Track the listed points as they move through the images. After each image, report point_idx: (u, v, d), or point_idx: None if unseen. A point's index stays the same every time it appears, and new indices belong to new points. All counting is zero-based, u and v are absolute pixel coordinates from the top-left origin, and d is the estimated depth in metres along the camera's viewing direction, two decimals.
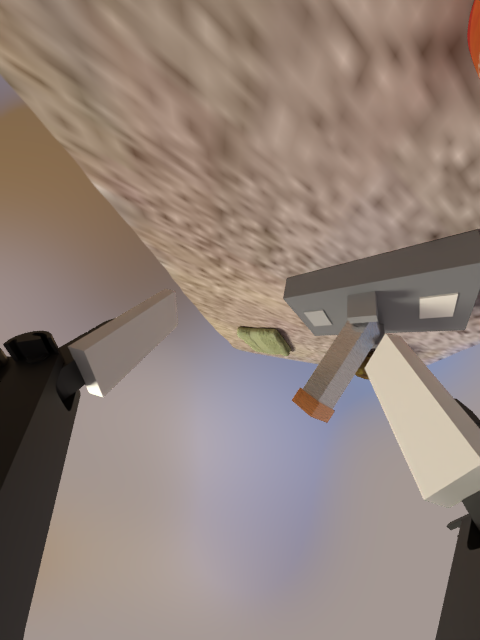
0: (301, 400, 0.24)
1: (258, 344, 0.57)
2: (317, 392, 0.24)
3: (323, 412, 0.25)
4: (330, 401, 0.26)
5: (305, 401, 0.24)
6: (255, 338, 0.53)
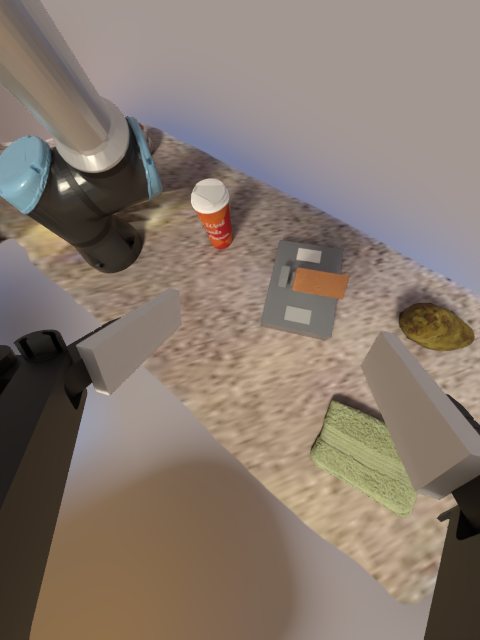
0: (293, 282, 0.26)
1: (360, 459, 0.33)
2: None
3: None
4: None
5: (294, 278, 0.26)
6: (334, 438, 0.34)
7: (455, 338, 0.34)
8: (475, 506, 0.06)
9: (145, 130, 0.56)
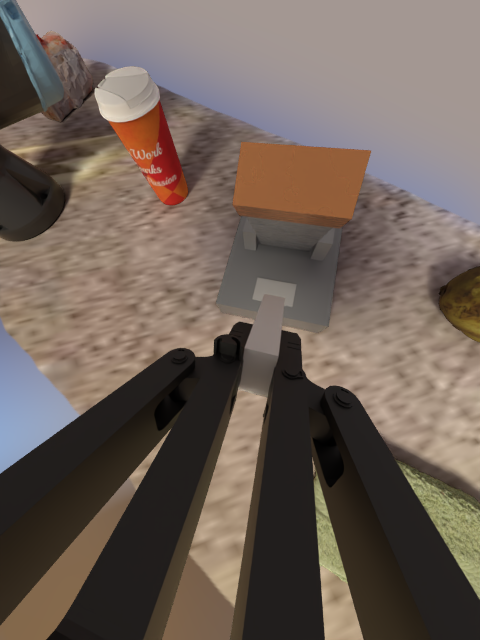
0: None
1: None
2: None
3: None
4: None
5: None
6: None
7: None
8: (269, 396, 0.08)
9: (75, 51, 0.41)
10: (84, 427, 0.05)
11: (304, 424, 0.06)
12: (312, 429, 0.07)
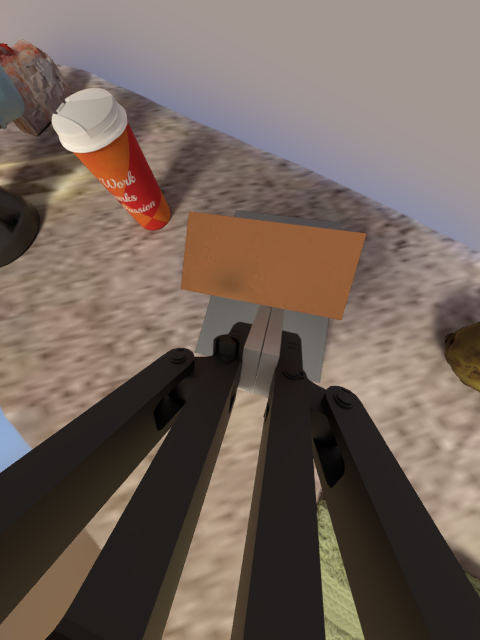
0: None
1: None
2: None
3: None
4: None
5: None
6: (324, 594, 0.17)
7: None
8: (270, 397, 0.08)
9: (49, 60, 0.38)
10: (83, 427, 0.05)
11: (305, 424, 0.06)
12: (313, 429, 0.07)
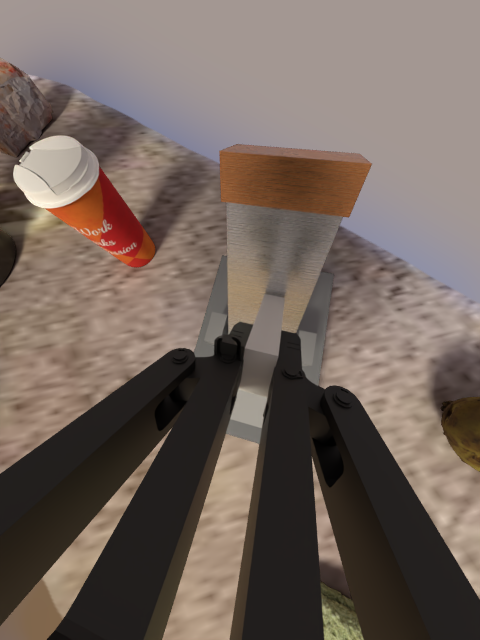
0: None
1: None
2: None
3: None
4: None
5: None
6: None
7: None
8: (269, 396, 0.08)
9: (27, 79, 0.36)
10: (84, 427, 0.05)
11: (304, 424, 0.06)
12: (312, 429, 0.07)
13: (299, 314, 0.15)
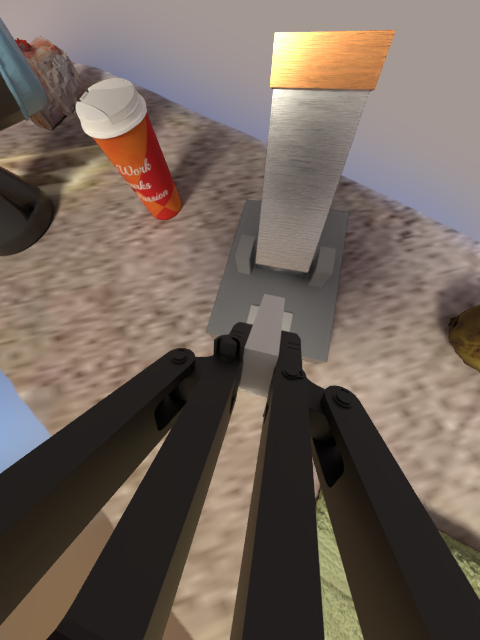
0: None
1: None
2: None
3: None
4: None
5: None
6: (329, 562, 0.17)
7: None
8: (269, 396, 0.08)
9: (65, 57, 0.40)
10: (84, 427, 0.05)
11: (304, 424, 0.06)
12: (312, 429, 0.07)
13: (324, 214, 0.17)
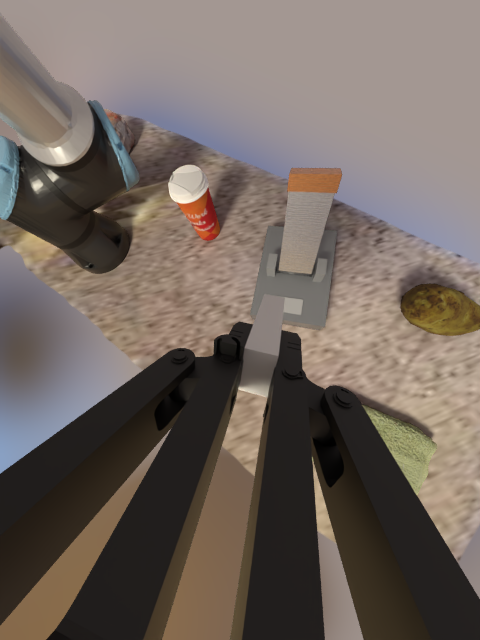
0: None
1: None
2: None
3: None
4: None
5: None
6: None
7: (464, 321, 0.30)
8: (269, 396, 0.08)
9: (123, 121, 0.53)
10: (84, 427, 0.05)
11: (304, 424, 0.06)
12: (312, 429, 0.07)
13: (318, 243, 0.31)
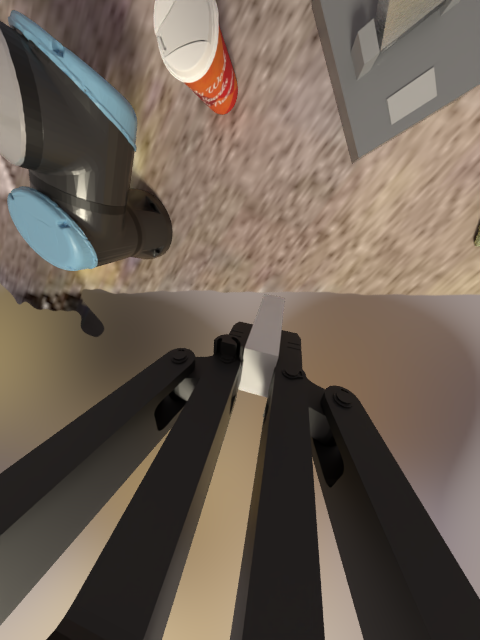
0: None
1: None
2: None
3: None
4: None
5: None
6: None
7: None
8: (269, 396, 0.08)
9: None
10: (84, 427, 0.05)
11: (304, 424, 0.06)
12: (312, 429, 0.07)
13: None
